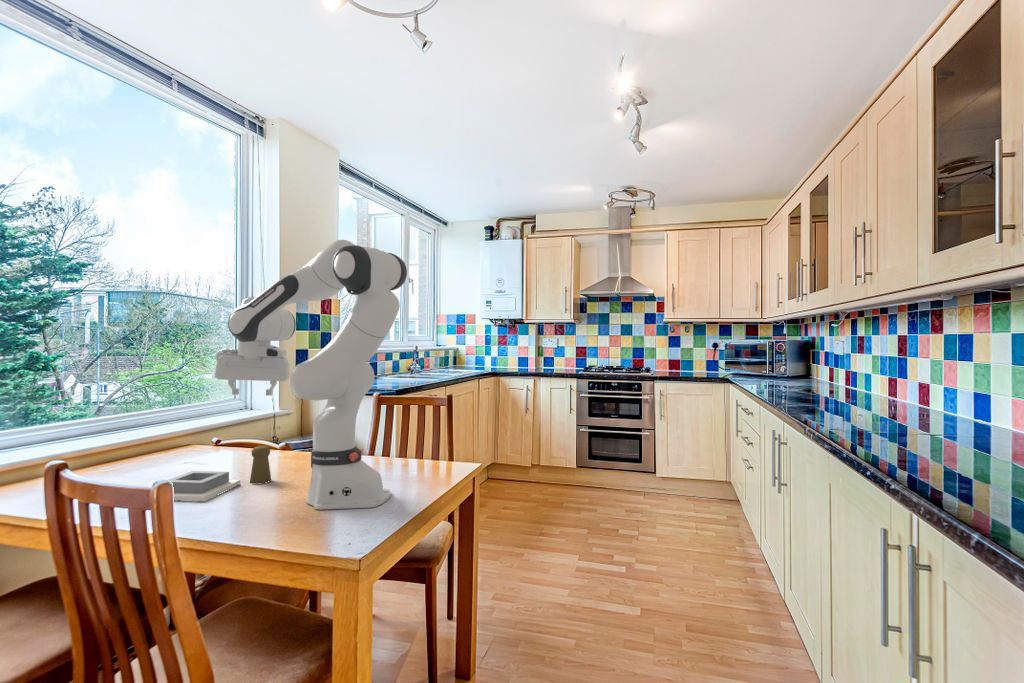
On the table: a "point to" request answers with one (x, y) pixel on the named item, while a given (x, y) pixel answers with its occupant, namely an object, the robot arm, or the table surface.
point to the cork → (260, 465)
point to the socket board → (207, 494)
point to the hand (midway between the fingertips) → (252, 395)
